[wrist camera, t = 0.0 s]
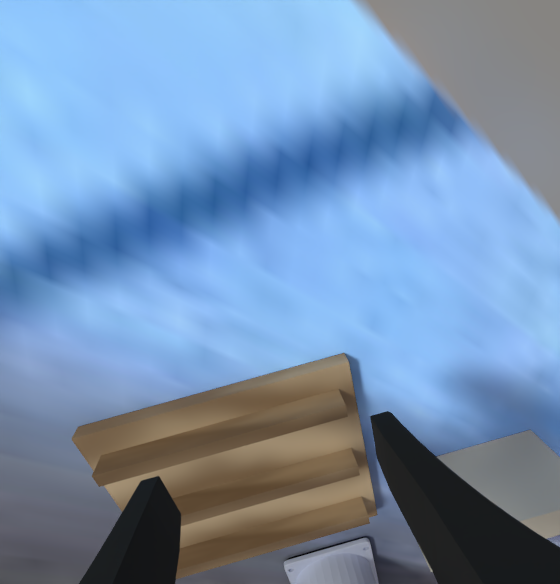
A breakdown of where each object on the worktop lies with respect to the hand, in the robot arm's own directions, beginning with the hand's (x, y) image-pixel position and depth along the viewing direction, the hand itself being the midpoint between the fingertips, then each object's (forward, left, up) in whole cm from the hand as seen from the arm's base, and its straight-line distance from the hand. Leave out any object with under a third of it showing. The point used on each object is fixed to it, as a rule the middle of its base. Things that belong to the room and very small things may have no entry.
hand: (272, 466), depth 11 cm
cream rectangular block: (-18, -13, -10) cm, 24 cm away
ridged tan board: (-12, +4, -10) cm, 16 cm away
